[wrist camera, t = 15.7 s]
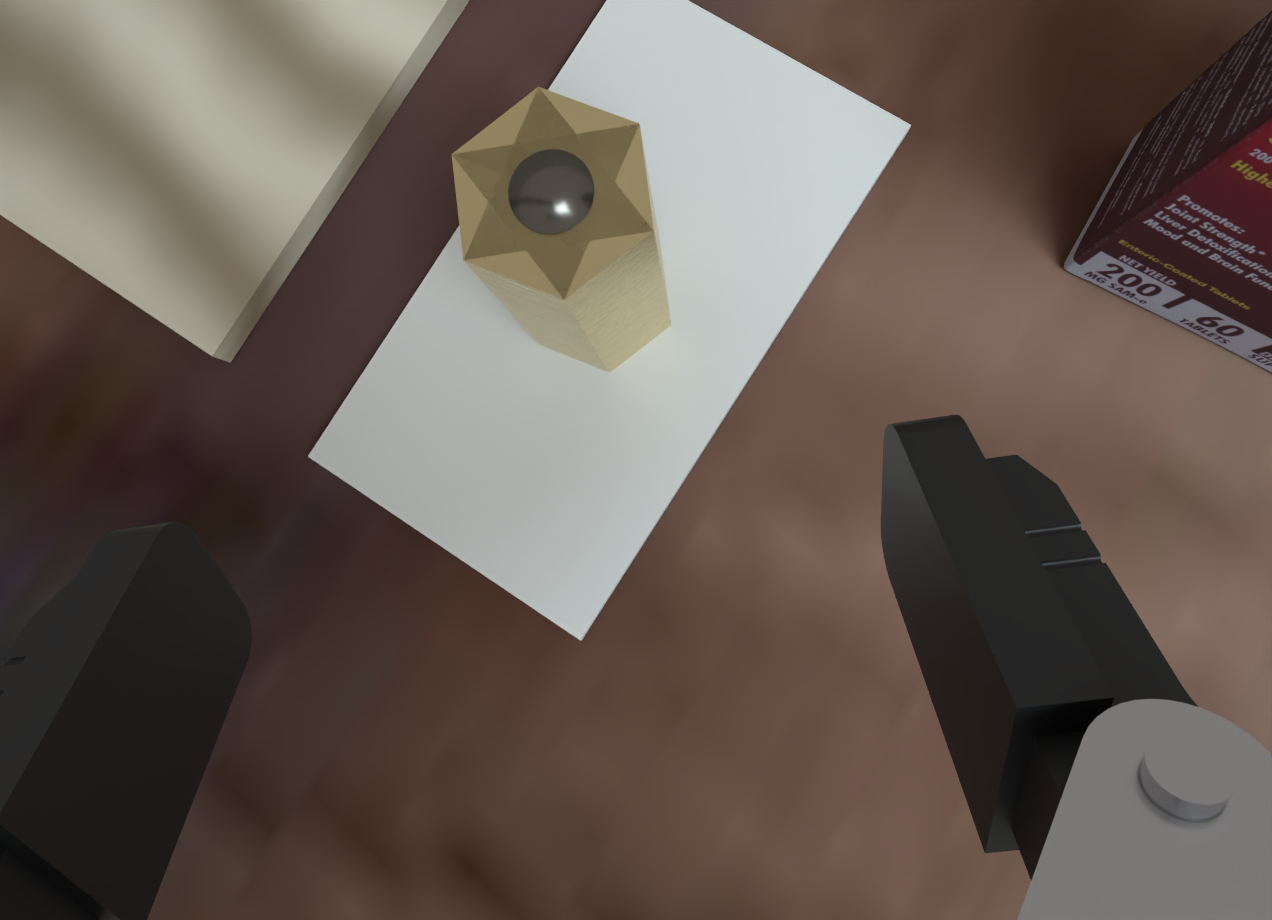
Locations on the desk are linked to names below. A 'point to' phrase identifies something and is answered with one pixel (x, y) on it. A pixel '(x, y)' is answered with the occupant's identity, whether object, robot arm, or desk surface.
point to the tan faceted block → (565, 227)
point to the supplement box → (1197, 208)
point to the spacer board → (197, 137)
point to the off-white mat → (660, 371)
